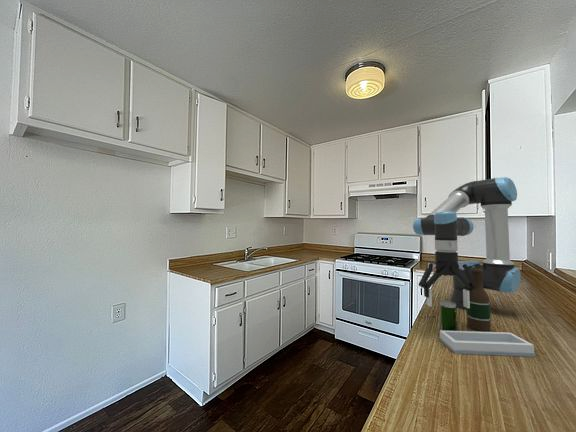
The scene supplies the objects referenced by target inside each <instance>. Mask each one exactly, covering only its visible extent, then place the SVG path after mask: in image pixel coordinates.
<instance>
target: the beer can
mask: <svg viewBox="0 0 576 432" xmlns="http://www.w3.org/2000/svg"><path fill="white" fill-rule="evenodd" d="M439 307H440V308H439V309H440V310H439V311H440V313H439V314H440V330H442V331H459V330H458V309H457V308H458V307H456V303H454V302H450V300H441V301H440V304H439Z"/></svg>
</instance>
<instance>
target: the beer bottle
mask: <svg viewBox="0 0 576 432" xmlns="http://www.w3.org/2000/svg"><path fill="white" fill-rule="evenodd" d="M471 272H472V279H473V280H474V282H475V284H476V286H477V289H473V291H471V292H472V298H471V299H470V308H467V309H466V321H467V322H466V323H467V327H468V328H469V329H471V330H473V331H475V332H491V331H490V330H491V327H492V326H491V325H492V320H491V302H490V297H489V295H488V292H487V291H486V289H484V288H483V282H482V274H481V272H482V270H481V269H476V268H473V269H471Z"/></svg>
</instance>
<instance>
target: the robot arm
mask: <svg viewBox="0 0 576 432" xmlns="http://www.w3.org/2000/svg"><path fill="white" fill-rule="evenodd" d="M517 198H518V190H517V187H516V185H515V182H514V181H513V180H512V179H511V178H510V177H507V176H506V177H505V176H503V177H494V178H488V179H487V178H486V179H481V180H473V181H469V182H466V183H464V184H462V185H460V186H459V187H457V188H455V189H454V190H452V191H451V192H450V193H449V195H448V196H447V198H446V199H445V200H444V201H443V202H442V203H440V205H438V206H437V207H436V208H435V209H434V210H432V211H431V212H430V213H429V214H428V215H427V216H426V217H424V218H417V219H414V222H413V223H412V229H413V232H414V233H415V234H416V235H419V236H420V235H421V236H434V250H435V252H434V260H435V263H430V262H427V263H426V268H425V270H424V272H423V275H422V277H421V279H420V281H419V283H418V286H419V287H421V288H423V295H424V297H425V298H426V305H427V307H429V308H431V307H432V308H433V300H432V299H433V298H432V297H433V295H432V293H433V292H432V289H431V287H432V286H433V285H434V284H435V283H436V282H437V280H438V279H440V277H442V276H444V277H445V276H451V277H452V282H453V284H452V285H453V287H452V288H453V290H452V293H451V296H450V299H449V302H454V303H456V307H457V308H459V309H463V310H467V308H470V299H471V298H472V292H471V291H473V289H477V286H476V284H475V282H474V280H473V279H472V272H471V269H473V268H476V269H481V270H482V272H481V274H482V282H483V288H484V290H490V291H496V292H500V293H509V294H512V293H515V292H516V291H517V290H518V288H519V287H520V283H521V278H522V273H521V270H520V269H519V268H517V267H515V263H514V262H513V261H511V257H510V256H511V255H510V253H511V252H510V231H509V230H510V229H509V210H508V209H510V207H512V206H513V203H512V202H515V201H517ZM473 204H474V205H475V204H480V208H482V209H483V211H484V225H485V229H484V230H485V253H486V257H485V259H484V260H483V261H482V264H481V262H480V260H479V261H478V260H466V261H465V260H464V261H462V260H461V261H459V253H458V252H457V251H458V250H459V249H458V237H465V236H469V235H470V234H472V233H473V231H474V228H475V225H474V223H473V222H472V221H471V219H469V218H466V217H463V216H461V217H457V216H458V215H457V212H459V210H461V209H462V208H466V207H467V206H468V205H473ZM434 268H435V269H436V270H435V271H434V272H433V270H434ZM432 272H433V274H432Z"/></svg>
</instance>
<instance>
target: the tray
mask: <svg viewBox="0 0 576 432" xmlns="http://www.w3.org/2000/svg"><path fill="white" fill-rule="evenodd" d="M438 339H439V341H440V342H442V344H444V345H445V346H446V348H448V349H449V350H451V351H452V352H453V354H456V355H458V354H460V355H477V356H478V355H479V356H481V355H485V356H501V357H502V356H505V357H530V358H536V353H535V345H534V344H533V343H531V342H529V341H527V340H525V339H524V338H522V337H519V336H518V335H516V334H514V333H512V332H503V331H501V332H498V331H489V332H480V331H474V330H473V331H471V330H458V331H442V330H441V329H440V330H439V338H438Z"/></svg>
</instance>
